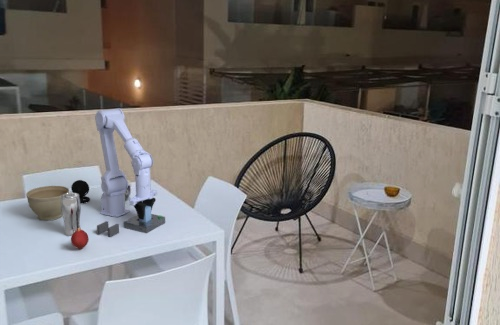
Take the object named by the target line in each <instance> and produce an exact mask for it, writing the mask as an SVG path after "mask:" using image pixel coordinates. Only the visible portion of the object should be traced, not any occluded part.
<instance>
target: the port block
mask: <svg viewBox="0 0 500 325" xmlns="http://www.w3.org/2000/svg"><path fill="white" fill-rule="evenodd" d="M165 224H166V216H164V215H158V214H153V213H151V220H150V221H148V222H141V221H139V217H138V214H136V215H135V216H133V217H130V218H128V219H125V220H124V221H123V228H124V229H127V230H132V231H135V232H139V233H144V234H148V233H150V232H151V231H153V230H155V229H157V228H160V226H163V225H165Z"/></svg>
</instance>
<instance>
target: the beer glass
mask: <svg viewBox="0 0 500 325" xmlns="http://www.w3.org/2000/svg"><path fill="white" fill-rule="evenodd" d="M60 197H61V212H62V216H61V217H62V218H63V223H64V233H63V234H64V235H65V236H67V237H72V235H73V233H74V232H75V231H77V229H78V228H80V229H81V223H80V221H81V211H82V209H81V208H82V207H81V204H80V198H79V194H78V193H73V192H69V193H66V194H63V195H61V196H60ZM81 230H82V229H81Z"/></svg>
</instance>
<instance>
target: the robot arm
mask: <svg viewBox="0 0 500 325" xmlns="http://www.w3.org/2000/svg"><path fill="white" fill-rule="evenodd" d="M125 120H126V116H125V114H124V111H123V110H122V109H121V108H119V107H118V108H113V109H101V110H98V111H96V113H95V115H94V121H95V124H96V130H97V131H98V132H99V137H100V138H99V139H100V144H101V148H102V153H103V159H104V165H105V172H104V174H103V175H102V176H101V177H100V179H101V183H100V185H101V186H100V188H101V191H102V192H103V193H102V194H101V198H100V208H101V211H100V214H101V215H106V216H110V217H115V218H119V217H121V216H124V215H126V214H127V213H130V210H129V209H126V201H125V193H127V192H126V191H127V190H128V188H129V180H128V179H127V176H126V172H124V171H122V170H121V169H120V166H119V161H118V154H117V148H116V143H115V137H114V131H116V133H117V134H118V135H119V137H120V138H121V139H122V141H123V142H124V145H123V147H124V149H125V151H126V152H127V154H128V156H129V157H130V158H131V161H130V162H131V167H132V169H133V173H134V175H135V179H134V180H135V195H134V197H132V198H131V199H129V206H133V208H134V209H135V211H136V215H138V217H139V219H142V220H143V219H144V215H145V207H146V206H150V207H151V212H152V210H153V207H154V205H155V202H156V198H155V197H156V196H158V190H154V189H152V184H151V182H152V180H151V178H152V177H151V168H152V167H153V165H154V159H153V156H152V154H151V153H149V152H147V151H146V150H144V148H143V146H142V145H141V144H140V142H139V140H138V138H134V137H133V136H132V134H131V132H130V130H129V128H128V126H127V124H126V122H125Z"/></svg>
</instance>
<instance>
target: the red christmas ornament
mask: <svg viewBox="0 0 500 325" xmlns="http://www.w3.org/2000/svg"><path fill="white" fill-rule="evenodd" d="M80 228H81V227H80ZM80 228H78V229H77V231H75V232H74V233H73V235H72V236H70V242H71V245H72V246H73V247H74V248H76V249H78V250H82V249H83V248H85V247H86V246H87V245H88V243H89V241H90V240H89V235H88V234H87V232H86V231H84V230H83V229H80Z"/></svg>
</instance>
